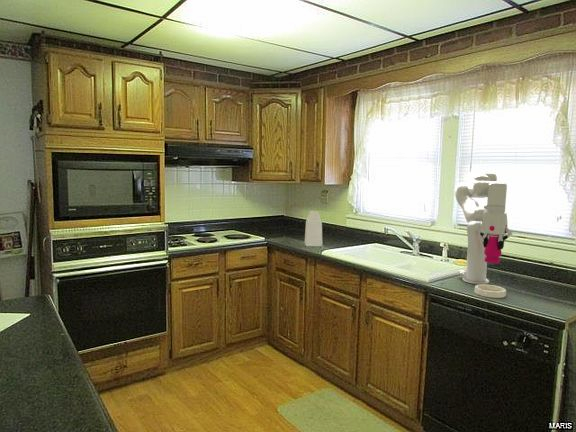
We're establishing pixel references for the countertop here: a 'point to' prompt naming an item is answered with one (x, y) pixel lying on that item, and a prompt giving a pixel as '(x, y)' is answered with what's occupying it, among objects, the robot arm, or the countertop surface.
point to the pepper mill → (492, 248)
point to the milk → (313, 229)
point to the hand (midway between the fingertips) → (493, 247)
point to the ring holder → (490, 291)
